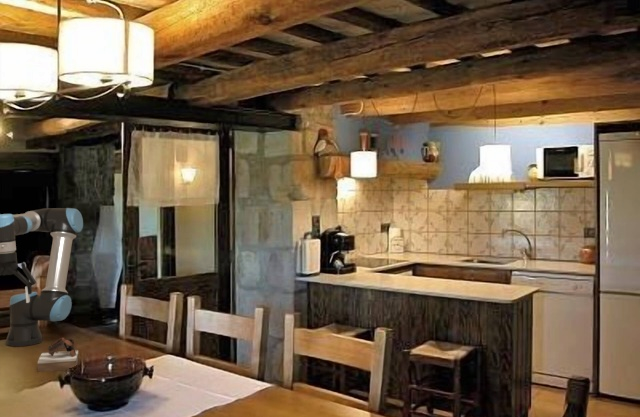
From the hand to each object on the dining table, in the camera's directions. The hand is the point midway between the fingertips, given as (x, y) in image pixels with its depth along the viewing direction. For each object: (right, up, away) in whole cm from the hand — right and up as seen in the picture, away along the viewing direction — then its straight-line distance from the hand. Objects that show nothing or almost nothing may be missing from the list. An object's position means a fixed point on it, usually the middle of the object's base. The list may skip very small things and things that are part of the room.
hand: (10, 303), depth 248 cm
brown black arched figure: (+23, -21, -2) cm, 31 cm away
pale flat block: (+21, -25, -2) cm, 32 cm away
